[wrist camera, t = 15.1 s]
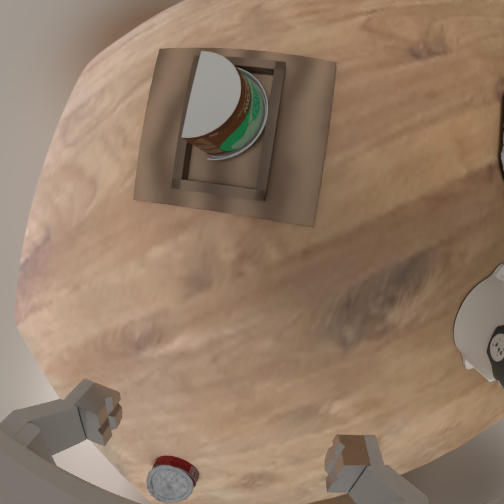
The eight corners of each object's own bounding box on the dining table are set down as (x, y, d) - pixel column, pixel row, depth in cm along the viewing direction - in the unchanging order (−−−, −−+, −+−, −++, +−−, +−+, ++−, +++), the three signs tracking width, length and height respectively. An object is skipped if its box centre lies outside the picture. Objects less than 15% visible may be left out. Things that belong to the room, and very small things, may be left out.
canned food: (161, 450, 57) (132, 463, 48) (193, 446, 54) (164, 463, 45) (179, 489, 54) (152, 506, 45) (212, 488, 51) (187, 509, 42)
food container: (264, 40, 24) (278, 75, 33) (204, 38, 25) (231, 71, 34) (240, 161, 27) (260, 168, 36) (178, 152, 28) (213, 161, 37)
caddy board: (335, 65, 34) (339, 55, 30) (312, 226, 39) (314, 230, 35) (162, 51, 35) (153, 42, 32) (136, 199, 40) (124, 201, 37)
